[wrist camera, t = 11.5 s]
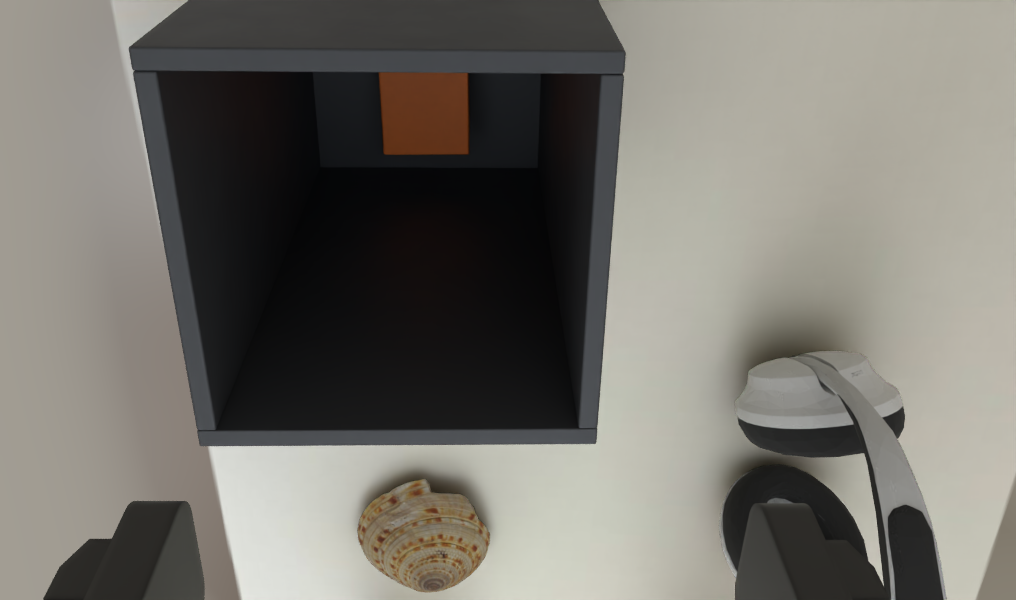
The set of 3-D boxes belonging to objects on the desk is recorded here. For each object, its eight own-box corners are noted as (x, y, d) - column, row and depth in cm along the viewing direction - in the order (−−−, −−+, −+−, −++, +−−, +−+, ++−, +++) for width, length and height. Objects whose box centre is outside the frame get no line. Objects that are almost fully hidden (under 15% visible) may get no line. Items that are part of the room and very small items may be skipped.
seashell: (470, 476, 56) (496, 604, 57) (477, 451, 61) (501, 567, 62) (335, 500, 56) (363, 627, 57) (355, 473, 62) (380, 588, 63)
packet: (381, -15, 44) (374, 1, 41) (468, -15, 44) (467, 1, 41) (389, 130, 47) (383, 155, 44) (469, 130, 47) (469, 155, 44)
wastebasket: (288, -80, 43) (127, 46, 23) (557, -77, 43) (626, 50, 23) (311, 173, 49) (199, 446, 29) (548, 174, 49) (596, 444, 29)
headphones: (726, 300, 53) (849, 559, 36) (874, 294, 53) (1070, 549, 36) (701, 553, 62) (789, 857, 45) (827, 548, 62) (964, 848, 45)
